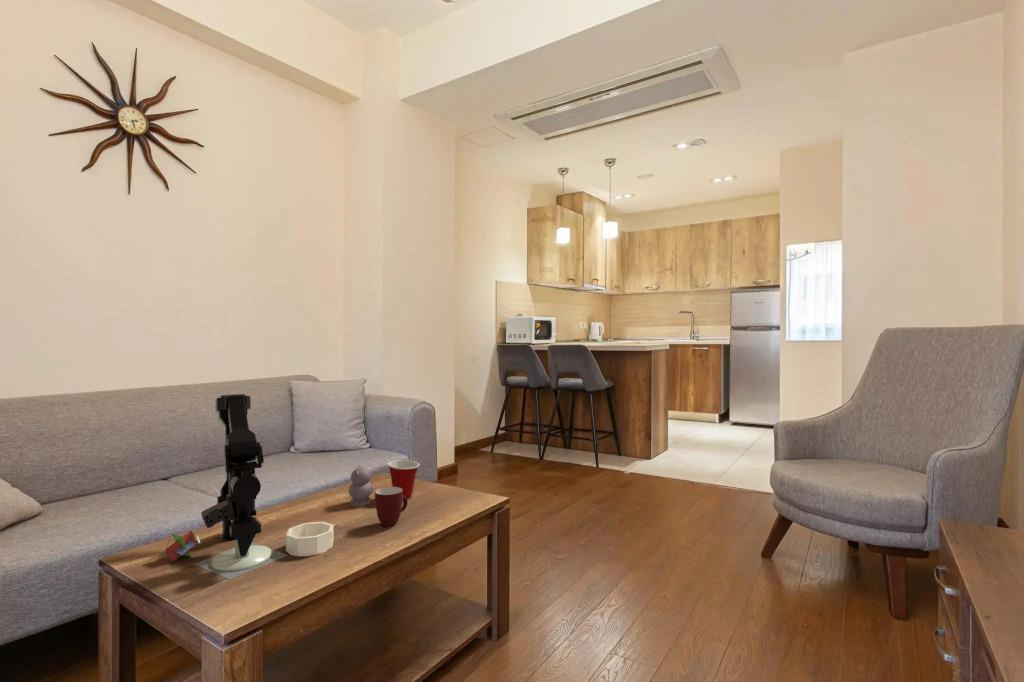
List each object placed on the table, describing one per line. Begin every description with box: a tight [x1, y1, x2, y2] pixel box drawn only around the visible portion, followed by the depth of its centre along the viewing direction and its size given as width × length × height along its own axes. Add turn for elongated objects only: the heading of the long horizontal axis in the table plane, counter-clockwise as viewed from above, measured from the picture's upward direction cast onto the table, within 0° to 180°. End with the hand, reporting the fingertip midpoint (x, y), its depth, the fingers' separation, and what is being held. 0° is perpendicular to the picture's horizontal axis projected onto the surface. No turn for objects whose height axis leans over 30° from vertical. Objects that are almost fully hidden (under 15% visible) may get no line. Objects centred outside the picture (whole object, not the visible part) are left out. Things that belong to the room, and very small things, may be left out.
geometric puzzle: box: [164, 530, 201, 562], centre depth 125 cm, size 7×7×8 cm
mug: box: [374, 486, 408, 528], centre depth 150 cm, size 11×8×10 cm
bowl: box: [285, 521, 335, 557], centre depth 132 cm, size 11×11×5 cm
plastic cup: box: [387, 459, 420, 500], centre depth 174 cm, size 11×11×12 cm
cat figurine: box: [348, 464, 374, 507], centre depth 168 cm, size 8×8×12 cm
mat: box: [193, 542, 289, 580], centre depth 124 cm, size 15×15×1 cm
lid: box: [211, 539, 272, 572], centre depth 124 cm, size 13×13×5 cm
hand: (242, 553), depth 124 cm, fingers open, 4 cm apart
